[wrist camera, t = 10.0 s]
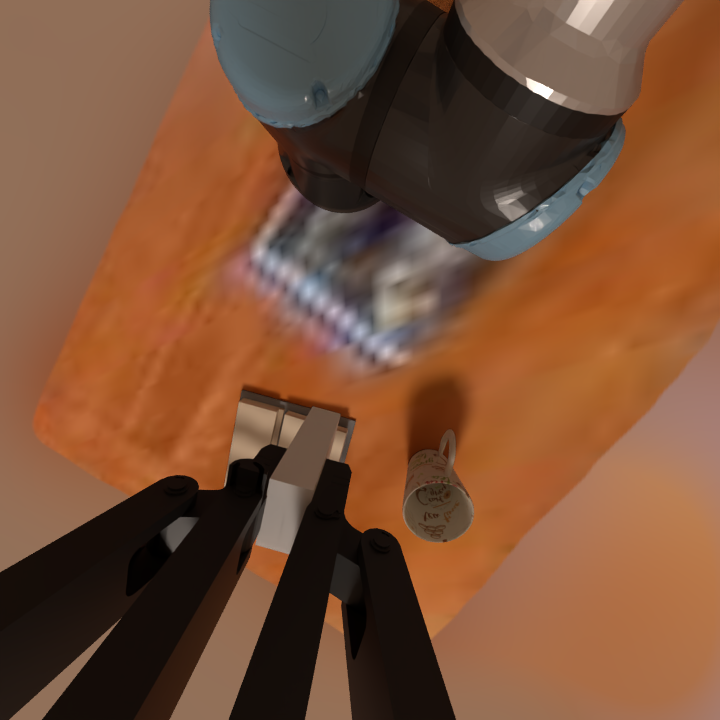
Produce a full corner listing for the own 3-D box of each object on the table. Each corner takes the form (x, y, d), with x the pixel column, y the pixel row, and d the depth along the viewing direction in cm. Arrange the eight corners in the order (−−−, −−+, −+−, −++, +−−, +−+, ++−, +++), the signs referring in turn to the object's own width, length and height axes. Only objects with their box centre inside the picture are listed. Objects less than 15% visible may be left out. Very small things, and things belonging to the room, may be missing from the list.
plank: (288, 410, 49) (284, 414, 48) (348, 428, 48) (346, 433, 47) (276, 467, 52) (272, 472, 50) (333, 485, 51) (330, 491, 49)
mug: (394, 485, 51) (395, 534, 41) (414, 408, 48) (420, 442, 38) (449, 498, 51) (463, 549, 41) (472, 421, 48) (493, 458, 38)
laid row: (242, 389, 50) (236, 394, 48) (355, 420, 49) (354, 426, 47) (220, 514, 55) (214, 523, 53) (322, 543, 55) (319, 553, 53)
